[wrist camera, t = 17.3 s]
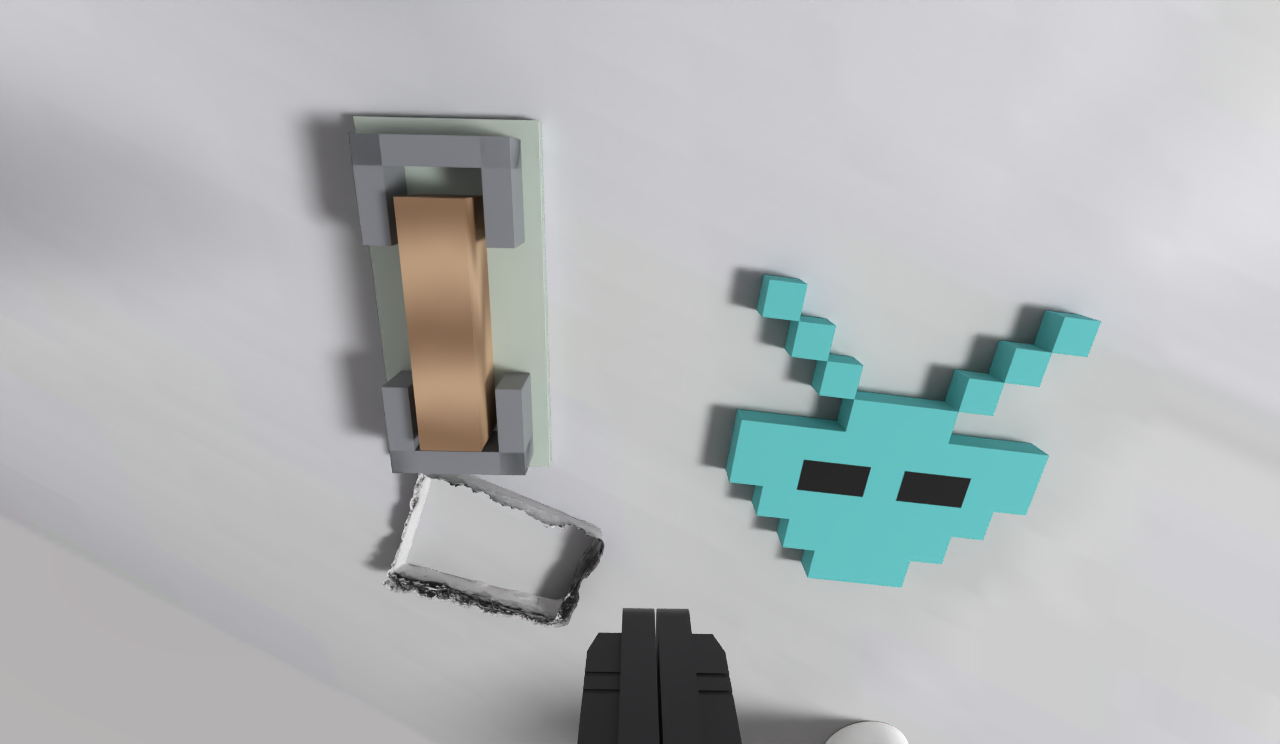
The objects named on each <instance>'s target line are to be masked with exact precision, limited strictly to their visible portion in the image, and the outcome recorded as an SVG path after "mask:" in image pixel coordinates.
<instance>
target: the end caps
mask: <svg viewBox="0 0 1280 744" xmlns="http://www.w3.org/2000/svg"><path fill="white" fill-rule="evenodd" d="M348 134H349V141H350V149H351V157H352V165H353V172H354V180H355V188H356V196H357V203H358V211H359V219H360V227H361V234H362V242H363V245H372V246H393V245H396V244H398V236H397V227H396V218H395V208H394V199H393V197H396V196H406V195H407V185H406V175H405V166H417V167H463V168H481V173H482V189H483V205H484V221H485V237H486V248H516V247H518V246H519V245H521V244H522V243H524V242H525V232H524V208H523V184H522V160H521V140H520V139H516V138H512V137H498V136H453V135H408V134H363V133H348ZM381 389H382V397H383V404H384V412H385V420H386V428H387V435H388V443H389V451H390V458H391V466H392V473H424V474H483V475H526V472H527V470H528V467H529V464H530V461H531V459H532V456H533V453H534V447H533V423H532V399H531V375H530V373H508V372H506V374H505V375H504V377H503V378H502V380H501V381H500V383H499V384H498V386H497V387H496V389H495V395H496V411H497V427H498V431H492V433H491V435H490V437H489V439H488V440H487V442H486V444H485V446H484V448H483V449H482V451H481V452H474V451H426V450H420V444H419V434H418V425H417V415H416V406H415V397H414V387H413V378H412V371H400V372H399V373H398V374H397V375H395V376H394V377H393V378H392V379H391V380H389V381H388V382H387V383H386V384H385V385H383V386H382V387H381Z"/></svg>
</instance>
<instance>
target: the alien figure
mask: <svg viewBox="0 0 1280 744" xmlns="http://www.w3.org/2000/svg"><path fill="white" fill-rule="evenodd" d="M806 288H807V284H806V283H805V282H803V281H802V280H800V279H795V278H787V277H780V276H772V275H763V280H762V285H761V290H760V295H759V300H758V306H757V311H758V312H759V313H760V315H761V316H762V317H768V318H776V319H784V320H791V321H790V325H789V330H788V335H787V339H786V344H785V350H786V351H787V352H788V353H789V355H790V356H791V357H796V358H804V359H813V360H817V363H816V367H815V372H814V376H813V380H812V384H811V386H812V387H813V388H814V389H815V391H816V392H817V393H818V394H819V395H821V396H829V397H838V398H843V399H842V403H841V407H840V411H839V414H838V418H837V421H835V420H826V419H818V418H809V417H800V416H792V415H783V414H775V413H766V412H758V411H749V410H741V409H737V414H736V419H735V424H734V429H733V434H732V439H731V444H730V450H729V455H728V460H727V465H726V472H727V475H728V479H729V482H731V483H740V484H749V485H755V489H754V493H753V498H752V503H753V506H754V509H755V512H756V515H757V516H766V517H776V518H780V521H779V525H778V529H777V534H778V536H779V539H780V541H781V544H782V547H786V548H795V549H804V552H803V556H802V560H801V563H802V565H803V568H804V570H805V572H806V575H807V577H808V578H816V579H825V580H835V581H844V582H854V583H863V584H873V585H882V586H892V587H902V584H903V581H904V578H905V575H906V572H907V569H908V566H909V563H910V561H917V562H926V563H936V564H942V562H943V559H944V556H945V553H946V550H947V547H948V544H949V542H950V539H951V537H959V538H968V539H978V540H983V539H984V536H985V533H986V531H987V528H988V525H989V523H990V520H991V517H992V514H993V512H1001V513H1010V514H1019V515H1026V513H1027V511H1028V508H1029V506H1030V503H1031V500H1032V498H1033V495H1034V493H1035V490H1036V488H1037V485H1038V482H1039V480H1040V477H1041V475H1042V472H1043V470H1044V467H1045V464H1046V462H1047V459H1048V457H1049V455H1047V454H1046V453H1044V452H1043V451H1042V450H1040V449H1039V448H1037V447H1036V446H1034V445H1033V444H1031V443H1022V442H1014V441H1005V440H997V439H988V438H980V437H971V436H963V435H954V434H952V431H953V428H954V425H955V421H956V418H957V415H958V412H964V413H973V414H981V415H990V416H993V415H994V412H995V409H996V406H997V403H998V400H999V397H1000V394H1001V391H1002V389H1003V386H1004V383H1011V384H1019V385H1027V386H1035V387H1040V384H1041V381H1042V378H1043V376H1044V373H1045V370H1046V368H1047V365H1048V362H1049V359H1050V357H1051V354H1052V353H1058V354H1066V355H1074V356H1083V357H1087V356H1088V354H1089V351H1090V349H1091V346H1092V344H1093V341H1094V338H1095V336H1096V333H1097V331H1098V328H1099V326H1100V323H1101V321H1098V320H1095V319H1092V318H1088V317H1085V316H1082V315H1078V314H1070V313H1062V312H1054V311H1045V313H1044V316H1043V319H1042V322H1041V325H1040V328H1039V330H1038V333H1037V336H1036V339H1035V342H1034V344H1025V343H1017V342H1008V341H1000V340H999V343H998V346H997V349H996V352H995V355H994V358H993V361H992V364H991V367H990V370H989V373H980V372H972V371H964V370H956V369H955V370H954V373H953V377H952V380H951V383H950V386H949V389H948V392H947V396H946V399H945V401H937V400H929V399H920V398H912V397H904V396H895V395H887V394H879V393H870V392H862V391H857V388H858V384H859V380H860V376H861V372H862V369H863V365H862V364H861V363H860V362H858V361H857V360H856V359H855V358H854V357H849V356H841V355H833V354H829V353H830V349H831V345H832V340H833V336H834V332H835V328H836V326H835V325H834V324H833V323H832V322H830V321H829V320H828V319H824V318H816V317H808V316H801V311H802V307H803V302H804V298H805V293H806Z"/></svg>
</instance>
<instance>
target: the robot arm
mask: <svg viewBox="0 0 1280 744" xmlns="http://www.w3.org/2000/svg"><path fill="white" fill-rule="evenodd" d="M577 744H742V743H741V737H740V732H739V726H738V720H737V715H736V709H735V704H734V698H733V695H732V687H731V682H730V678H729V671H728V665H727V660H726V654H725V651H724V650H723V649H722V647H721V646H720V644H719V643H718V641H717V640H716V638H715V637H714V636H713V634H692V632H691V623H690V614H689V609H657V612H656V637H655V612H654V609H640V608H623V616H622V633H598V635H597V636H596V638H595V639H594V641H593V643H592V644H591V646H590V647H589V649H588V650H587V659H586V668H585V677H584V687H583V696H582V705H581V715H580V724H579V734H578V743H577Z"/></svg>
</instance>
